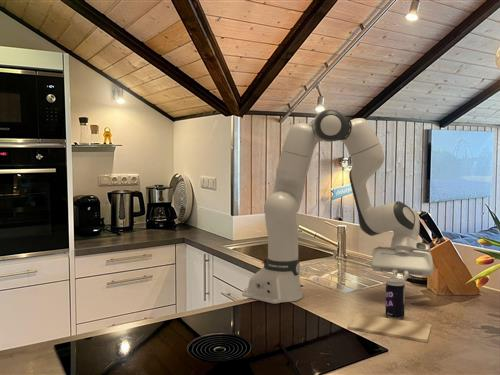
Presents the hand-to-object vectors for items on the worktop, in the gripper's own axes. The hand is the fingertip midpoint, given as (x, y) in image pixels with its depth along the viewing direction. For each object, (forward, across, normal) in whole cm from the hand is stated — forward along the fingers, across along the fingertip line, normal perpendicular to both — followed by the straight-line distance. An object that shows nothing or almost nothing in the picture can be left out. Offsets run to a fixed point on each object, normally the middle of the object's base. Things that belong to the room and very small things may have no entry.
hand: (399, 283), depth 144 cm
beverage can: (+12, 0, 0) cm, 12 cm away
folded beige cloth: (+19, 0, -7) cm, 20 cm away
